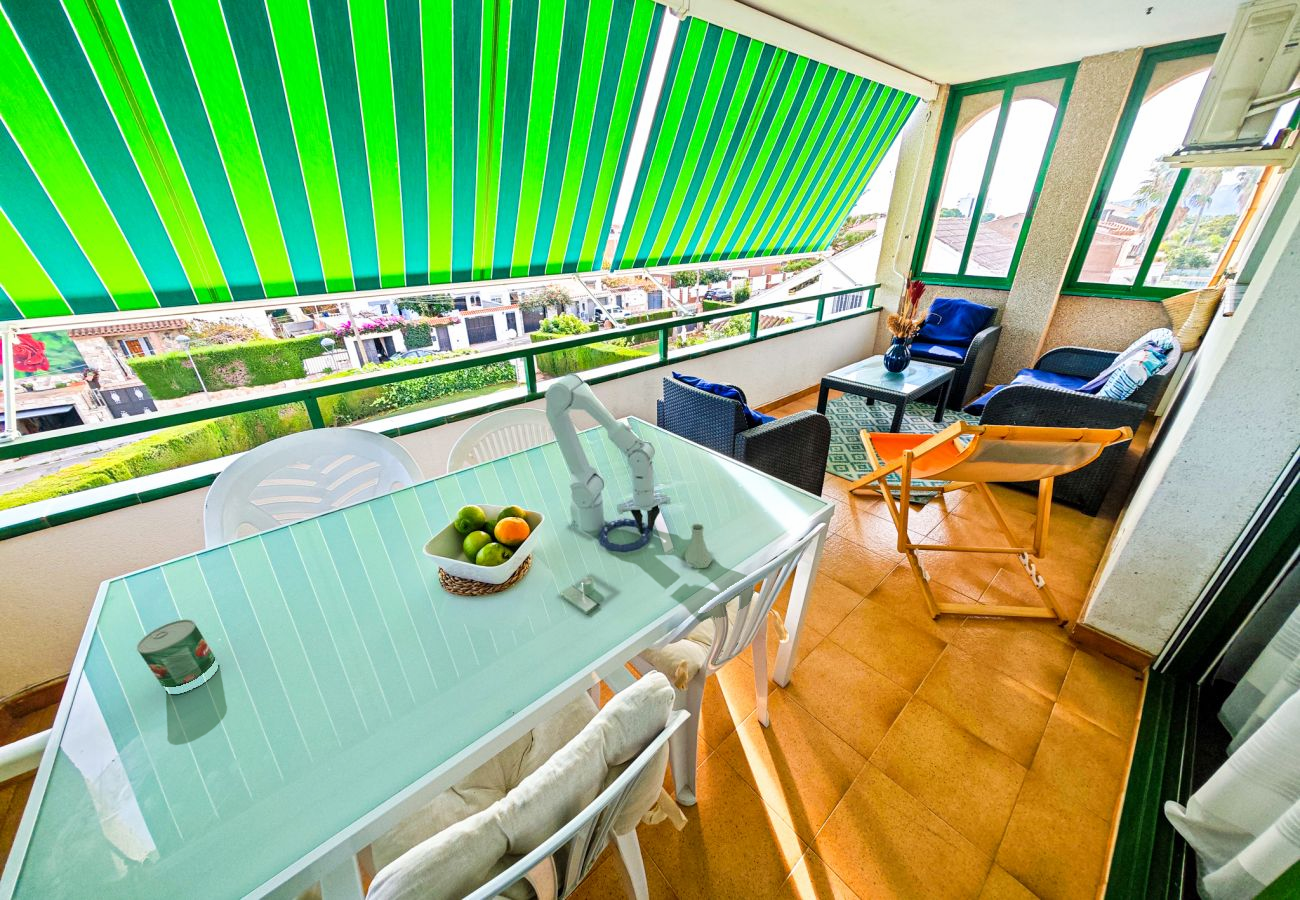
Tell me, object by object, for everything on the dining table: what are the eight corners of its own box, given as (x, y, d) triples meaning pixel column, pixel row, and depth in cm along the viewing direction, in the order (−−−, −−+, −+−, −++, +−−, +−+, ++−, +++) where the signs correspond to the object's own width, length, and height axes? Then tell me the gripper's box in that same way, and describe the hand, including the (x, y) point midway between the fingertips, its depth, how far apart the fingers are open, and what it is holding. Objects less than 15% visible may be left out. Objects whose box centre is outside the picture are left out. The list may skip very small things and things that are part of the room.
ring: (587, 541, 125) (587, 534, 124) (624, 518, 135) (624, 511, 134) (625, 562, 116) (624, 554, 115) (661, 536, 126) (661, 529, 125)
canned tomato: (229, 663, 92) (205, 622, 87) (185, 698, 85) (157, 655, 80) (199, 657, 94) (175, 616, 89) (154, 691, 87) (124, 648, 82)
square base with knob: (561, 596, 106) (559, 582, 104) (590, 576, 112) (588, 562, 110) (586, 615, 100) (585, 600, 99) (616, 592, 106) (614, 578, 105)
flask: (710, 570, 112) (711, 536, 108) (681, 567, 114) (680, 534, 110) (712, 552, 119) (713, 520, 115) (685, 550, 120) (684, 517, 116)
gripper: (620, 499, 116) (623, 543, 121) (674, 488, 120) (674, 532, 125) (613, 486, 122) (617, 529, 127) (664, 477, 126) (666, 519, 131)
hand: (645, 530), depth 127 cm, fingers closed on ring, 2 cm apart
